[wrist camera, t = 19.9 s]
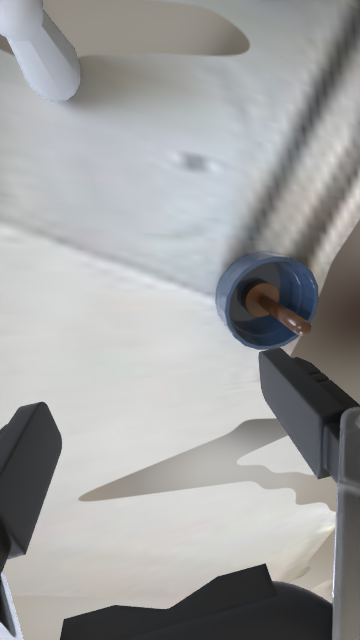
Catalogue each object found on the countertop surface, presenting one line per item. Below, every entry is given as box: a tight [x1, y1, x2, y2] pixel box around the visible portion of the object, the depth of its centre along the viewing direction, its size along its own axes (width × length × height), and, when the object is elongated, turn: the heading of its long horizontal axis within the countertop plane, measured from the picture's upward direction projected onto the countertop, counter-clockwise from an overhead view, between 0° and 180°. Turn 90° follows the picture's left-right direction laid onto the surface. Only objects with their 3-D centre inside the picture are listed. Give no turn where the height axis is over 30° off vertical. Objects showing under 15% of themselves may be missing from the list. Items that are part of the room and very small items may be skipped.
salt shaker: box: [0, 0, 81, 102], centre depth 24 cm, size 6×6×13 cm
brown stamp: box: [241, 280, 311, 336], centre depth 35 cm, size 5×5×13 cm
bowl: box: [216, 252, 319, 350], centre depth 39 cm, size 13×13×6 cm
